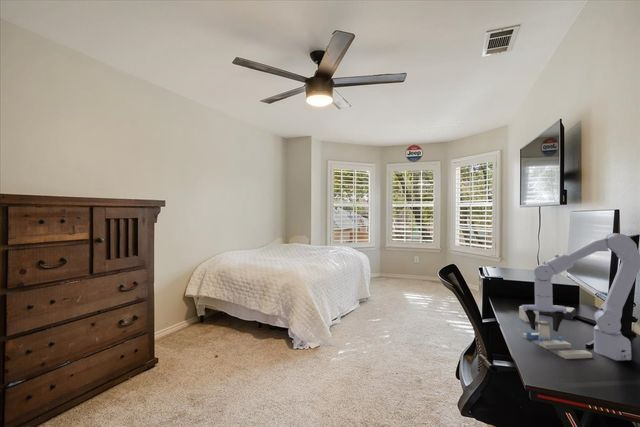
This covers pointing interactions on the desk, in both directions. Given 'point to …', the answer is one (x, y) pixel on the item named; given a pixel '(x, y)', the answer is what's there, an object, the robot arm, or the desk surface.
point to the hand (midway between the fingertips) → (544, 330)
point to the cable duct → (557, 346)
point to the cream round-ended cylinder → (544, 330)
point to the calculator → (568, 315)
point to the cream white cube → (524, 317)
